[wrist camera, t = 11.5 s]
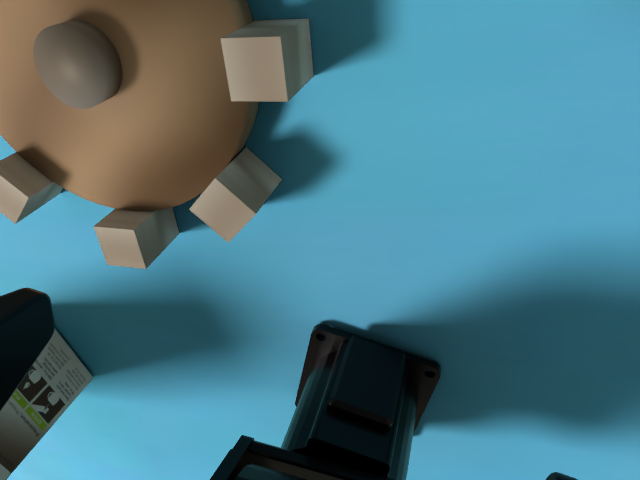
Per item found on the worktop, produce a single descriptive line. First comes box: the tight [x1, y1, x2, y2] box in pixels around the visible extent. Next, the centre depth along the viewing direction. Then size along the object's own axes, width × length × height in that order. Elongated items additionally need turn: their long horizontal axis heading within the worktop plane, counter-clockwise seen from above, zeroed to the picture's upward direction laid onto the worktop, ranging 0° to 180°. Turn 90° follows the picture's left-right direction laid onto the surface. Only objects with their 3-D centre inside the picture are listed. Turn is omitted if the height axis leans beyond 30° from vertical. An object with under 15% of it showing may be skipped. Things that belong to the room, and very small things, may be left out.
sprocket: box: [0, 0, 314, 269], centre depth 19 cm, size 23×17×3 cm
